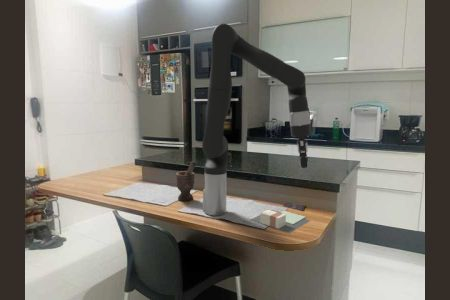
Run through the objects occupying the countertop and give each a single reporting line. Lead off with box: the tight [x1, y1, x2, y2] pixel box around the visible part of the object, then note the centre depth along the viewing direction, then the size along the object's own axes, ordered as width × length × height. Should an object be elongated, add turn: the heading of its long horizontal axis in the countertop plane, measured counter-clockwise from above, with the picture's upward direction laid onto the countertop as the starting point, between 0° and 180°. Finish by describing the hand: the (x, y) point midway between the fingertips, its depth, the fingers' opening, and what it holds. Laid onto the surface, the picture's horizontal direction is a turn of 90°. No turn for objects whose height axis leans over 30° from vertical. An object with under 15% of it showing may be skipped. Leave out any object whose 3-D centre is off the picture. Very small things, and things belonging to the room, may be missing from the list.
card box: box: [259, 209, 286, 230], centre depth 114 cm, size 8×5×4 cm, turn 48°
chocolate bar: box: [282, 201, 306, 212], centre depth 130 cm, size 9×1×18 cm
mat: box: [249, 209, 311, 234], centre depth 118 cm, size 18×18×1 cm
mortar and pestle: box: [175, 160, 197, 202], centre depth 143 cm, size 12×9×20 cm
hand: (304, 165), depth 116 cm, fingers open, 8 cm apart
